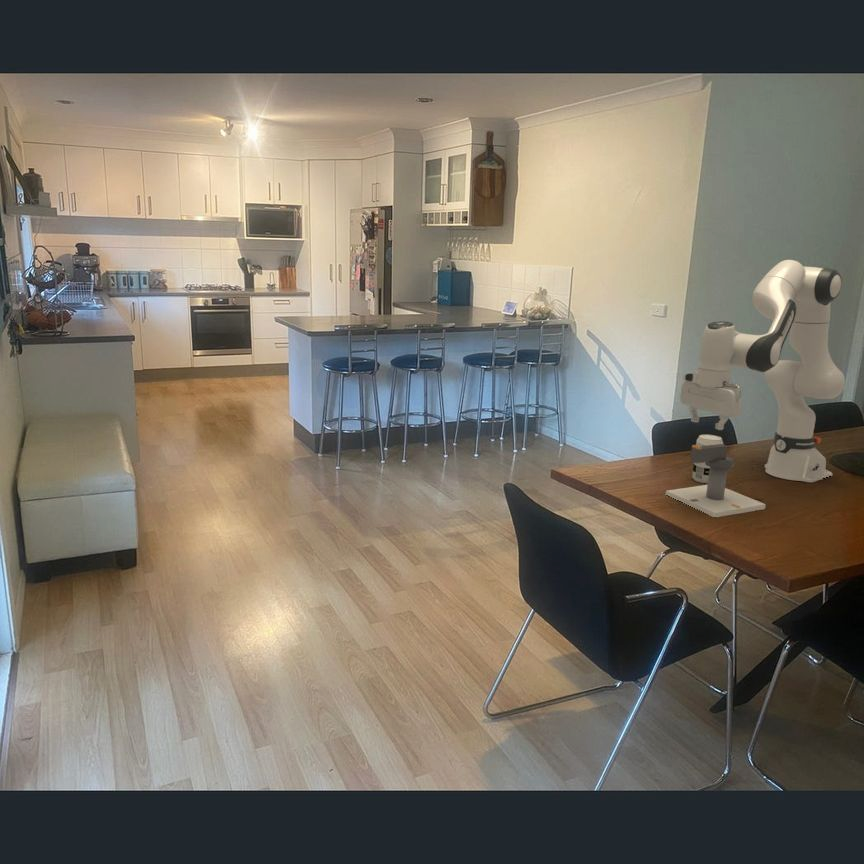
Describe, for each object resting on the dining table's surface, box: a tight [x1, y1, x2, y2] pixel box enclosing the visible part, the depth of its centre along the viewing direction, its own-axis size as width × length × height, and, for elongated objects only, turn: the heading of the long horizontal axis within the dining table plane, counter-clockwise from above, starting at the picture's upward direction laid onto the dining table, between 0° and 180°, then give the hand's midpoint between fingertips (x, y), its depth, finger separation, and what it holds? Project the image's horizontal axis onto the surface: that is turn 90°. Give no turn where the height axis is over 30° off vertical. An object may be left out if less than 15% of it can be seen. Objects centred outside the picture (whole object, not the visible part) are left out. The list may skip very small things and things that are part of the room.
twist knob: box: [689, 443, 735, 470], centre depth 208 cm, size 14×8×7 cm, turn 114°
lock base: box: [665, 467, 767, 518], centre depth 212 cm, size 20×20×12 cm
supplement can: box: [691, 434, 724, 485], centre depth 232 cm, size 8×8×15 cm
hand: (706, 425), depth 204 cm, fingers open, 8 cm apart
